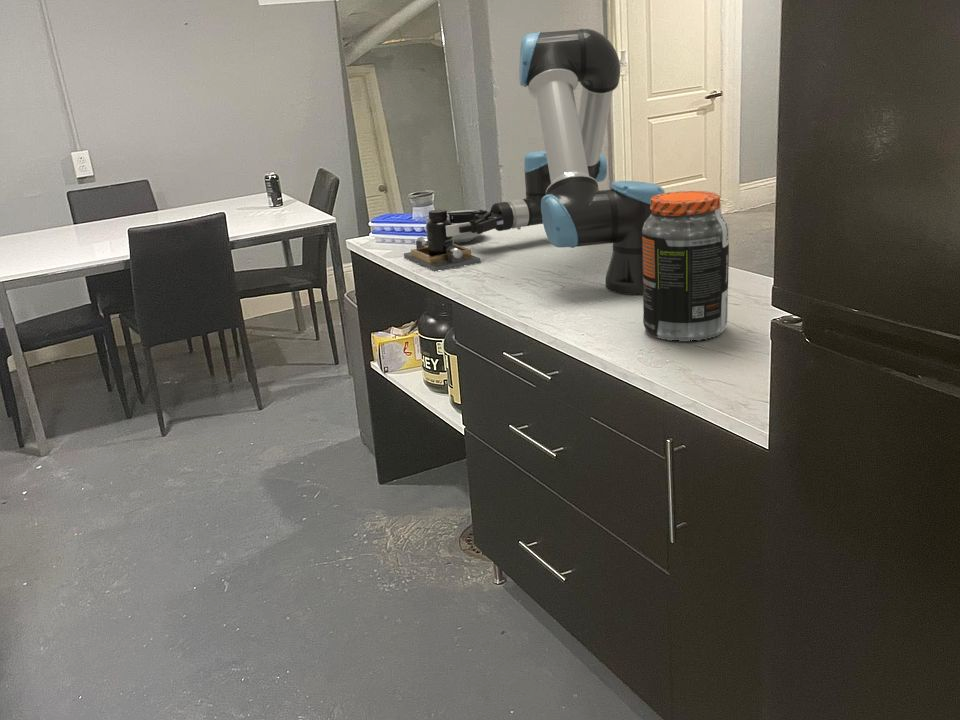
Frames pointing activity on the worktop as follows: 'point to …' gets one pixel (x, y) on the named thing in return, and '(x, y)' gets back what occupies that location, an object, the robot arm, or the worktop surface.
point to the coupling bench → (441, 256)
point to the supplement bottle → (438, 233)
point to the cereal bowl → (464, 236)
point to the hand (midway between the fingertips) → (436, 227)
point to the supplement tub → (685, 266)
